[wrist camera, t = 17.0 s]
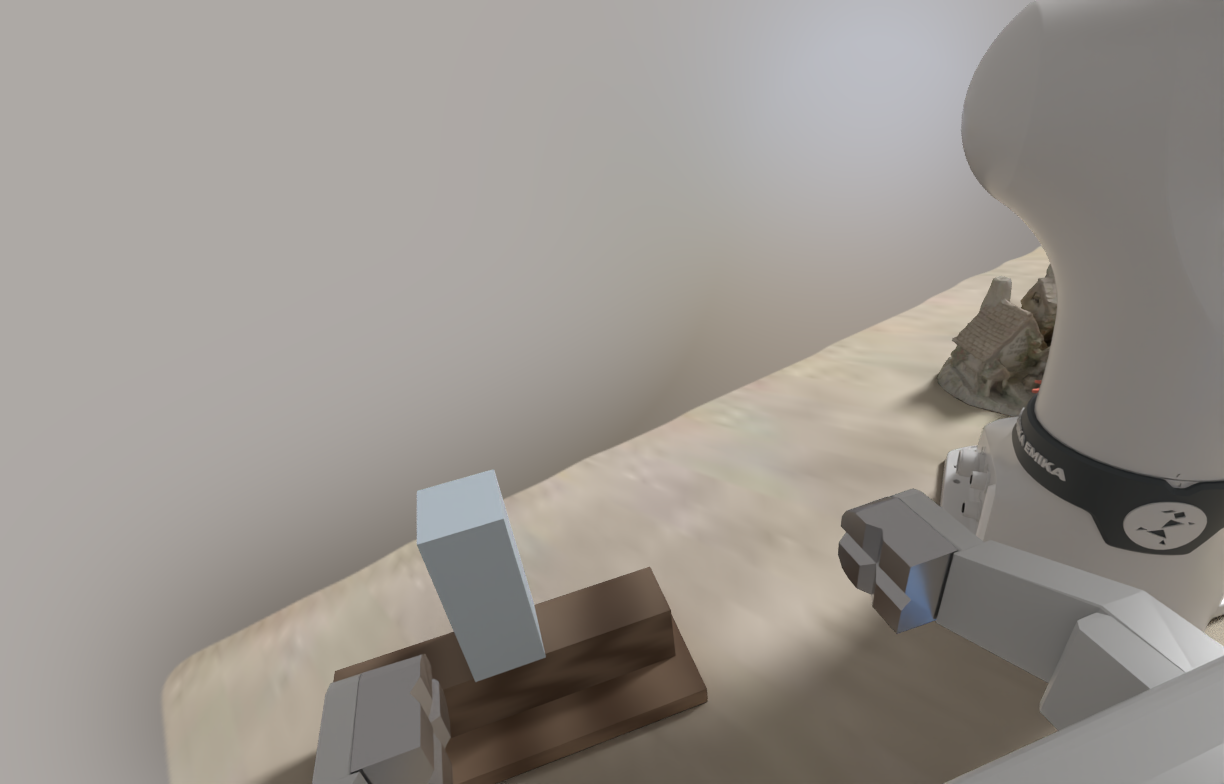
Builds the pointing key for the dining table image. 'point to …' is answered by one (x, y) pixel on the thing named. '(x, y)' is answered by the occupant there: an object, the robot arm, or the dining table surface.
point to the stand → (563, 681)
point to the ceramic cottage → (1003, 348)
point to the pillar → (479, 573)
